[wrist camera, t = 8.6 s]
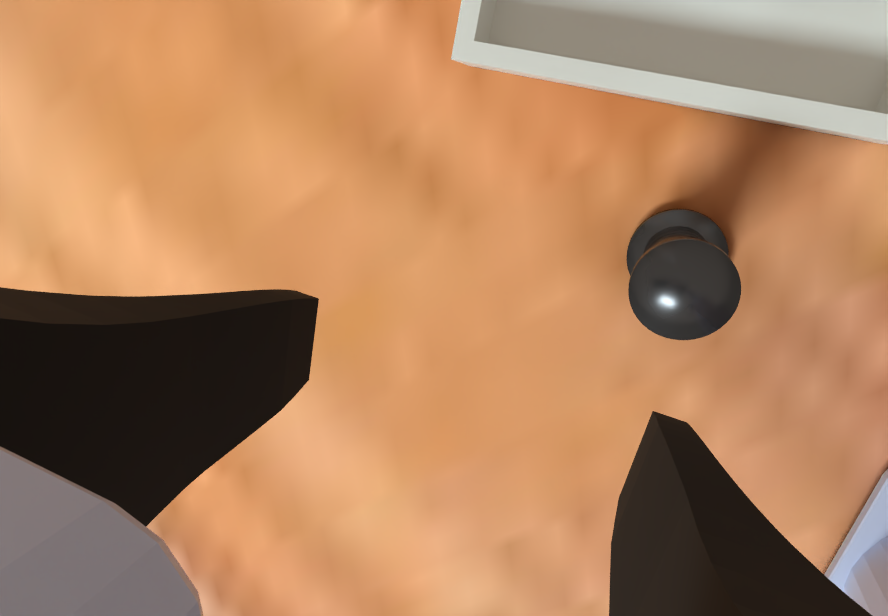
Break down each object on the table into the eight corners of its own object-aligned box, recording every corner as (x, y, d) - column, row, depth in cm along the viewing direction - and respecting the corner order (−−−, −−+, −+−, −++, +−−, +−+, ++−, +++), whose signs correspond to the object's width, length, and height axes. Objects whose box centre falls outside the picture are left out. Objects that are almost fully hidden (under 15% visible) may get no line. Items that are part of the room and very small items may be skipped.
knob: (742, 222, 17) (770, 250, 13) (707, 311, 18) (723, 362, 14) (643, 199, 18) (641, 218, 14) (615, 285, 19) (606, 327, 15)
